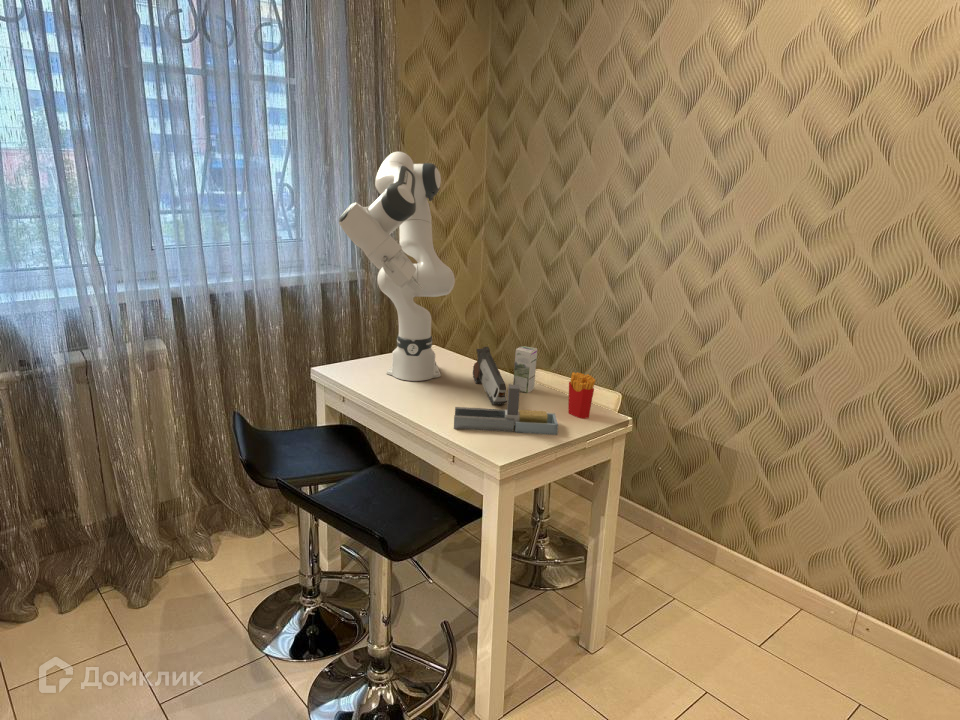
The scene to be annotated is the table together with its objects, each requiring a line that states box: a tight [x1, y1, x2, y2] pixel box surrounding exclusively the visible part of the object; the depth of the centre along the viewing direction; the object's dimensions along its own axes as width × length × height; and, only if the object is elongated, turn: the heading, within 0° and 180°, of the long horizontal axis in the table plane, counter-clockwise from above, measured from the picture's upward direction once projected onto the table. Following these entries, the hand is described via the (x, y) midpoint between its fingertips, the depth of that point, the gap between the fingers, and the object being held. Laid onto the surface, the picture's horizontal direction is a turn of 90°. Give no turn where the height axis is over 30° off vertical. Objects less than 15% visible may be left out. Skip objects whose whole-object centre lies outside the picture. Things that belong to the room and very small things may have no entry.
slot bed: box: [453, 406, 515, 433], centre depth 199 cm, size 8×17×4 cm, turn 90°
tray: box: [514, 412, 559, 436], centre depth 200 cm, size 9×12×3 cm
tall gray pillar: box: [504, 383, 521, 425], centre depth 198 cm, size 4×4×11 cm
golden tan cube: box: [518, 409, 534, 423], centre depth 199 cm, size 4×4×4 cm
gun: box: [472, 346, 508, 405], centre depth 226 cm, size 5×27×15 cm, turn 16°
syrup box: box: [512, 345, 538, 394], centre depth 230 cm, size 6×6×14 cm
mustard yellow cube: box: [533, 410, 548, 423], centre depth 199 cm, size 4×4×4 cm
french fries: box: [567, 371, 597, 420], centre depth 210 cm, size 9×4×13 cm, turn 38°
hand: (420, 291), depth 193 cm, fingers closed
